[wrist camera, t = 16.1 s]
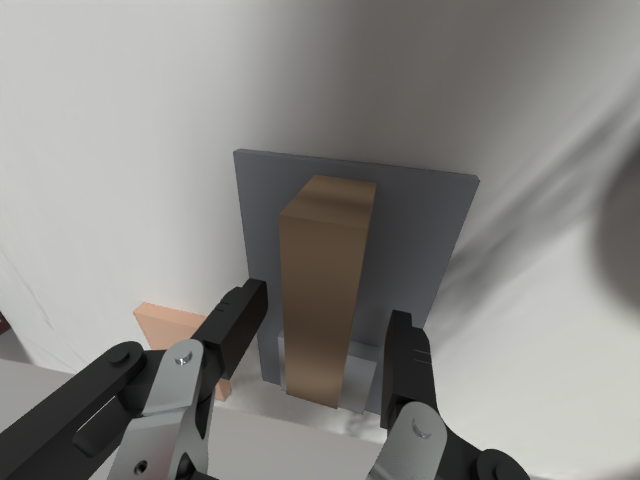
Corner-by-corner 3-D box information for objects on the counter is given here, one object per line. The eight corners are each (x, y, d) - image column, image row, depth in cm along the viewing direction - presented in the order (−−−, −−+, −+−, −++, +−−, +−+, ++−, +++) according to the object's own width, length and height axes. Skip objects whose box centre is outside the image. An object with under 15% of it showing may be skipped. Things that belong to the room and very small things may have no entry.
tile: (132, 311, 20) (169, 384, 25) (200, 329, 18) (224, 402, 24) (149, 297, 21) (181, 369, 26) (213, 312, 20) (234, 385, 25)
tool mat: (239, 149, 12) (233, 151, 11) (475, 175, 10) (480, 180, 9) (266, 373, 21) (262, 380, 21) (388, 408, 19) (388, 417, 19)
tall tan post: (277, 169, 11) (226, 206, 8) (420, 188, 10) (431, 239, 7) (286, 376, 20) (263, 436, 16) (364, 399, 19) (357, 467, 15)
